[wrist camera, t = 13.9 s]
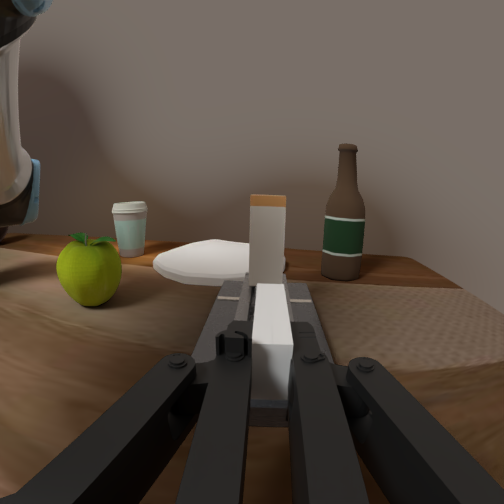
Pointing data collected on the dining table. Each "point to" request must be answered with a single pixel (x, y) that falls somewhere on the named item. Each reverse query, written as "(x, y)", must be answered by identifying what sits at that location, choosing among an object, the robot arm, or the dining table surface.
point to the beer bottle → (344, 222)
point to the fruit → (89, 269)
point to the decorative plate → (205, 262)
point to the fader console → (242, 309)
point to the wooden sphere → (3, 232)
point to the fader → (266, 239)
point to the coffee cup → (130, 227)
